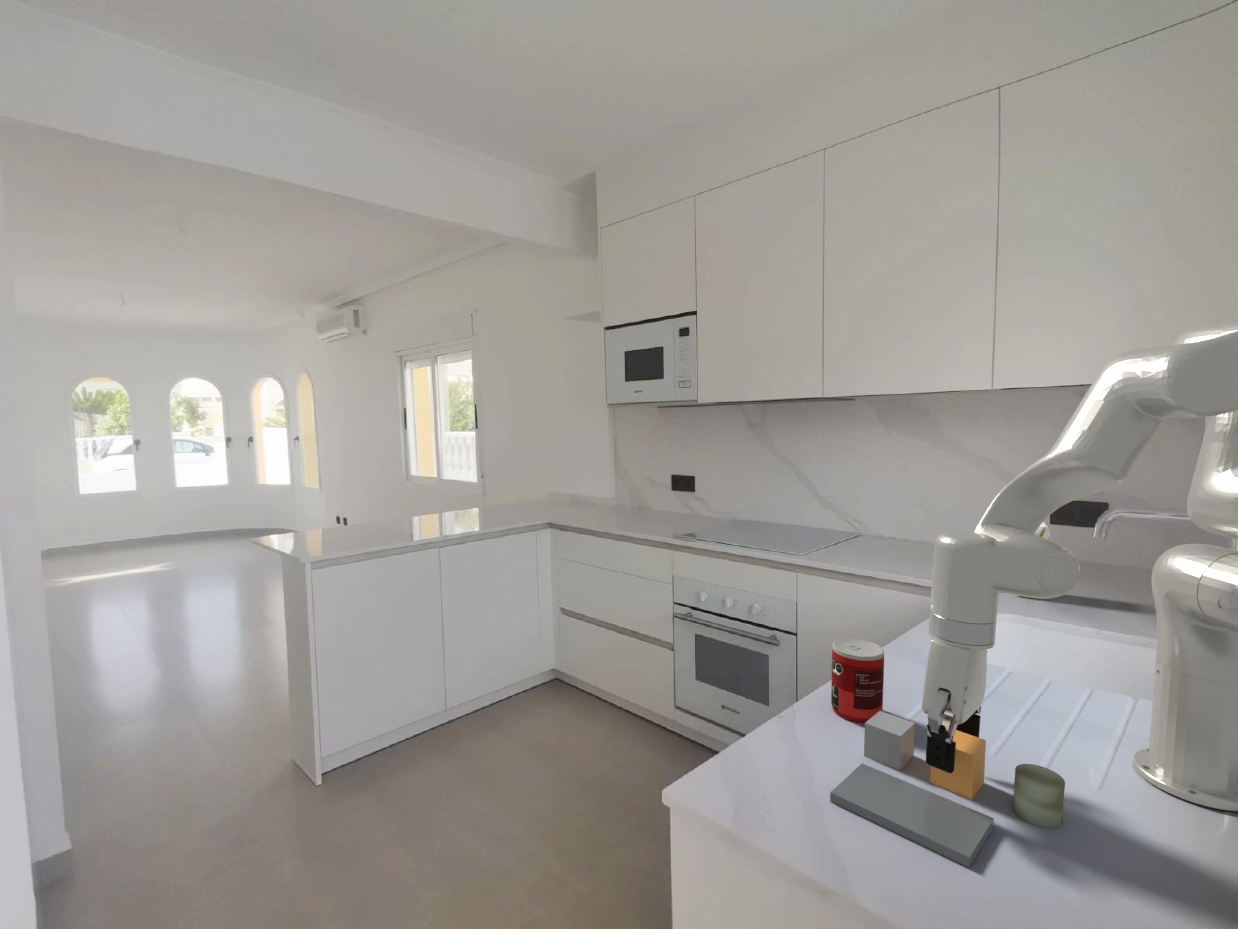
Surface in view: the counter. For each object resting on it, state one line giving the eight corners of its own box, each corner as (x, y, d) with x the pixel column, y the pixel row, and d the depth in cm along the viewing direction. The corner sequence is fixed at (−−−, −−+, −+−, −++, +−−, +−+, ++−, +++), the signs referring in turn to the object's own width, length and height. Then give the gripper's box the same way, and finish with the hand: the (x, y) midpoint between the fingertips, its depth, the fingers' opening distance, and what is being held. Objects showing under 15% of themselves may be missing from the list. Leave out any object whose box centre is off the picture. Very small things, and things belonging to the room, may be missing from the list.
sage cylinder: (1018, 796, 79) (1020, 759, 78) (1065, 814, 75) (1068, 775, 75) (1008, 814, 75) (1010, 776, 75) (1057, 834, 72) (1060, 794, 71)
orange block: (943, 767, 85) (945, 726, 85) (983, 783, 82) (985, 740, 81) (930, 783, 82) (931, 740, 81) (971, 800, 78) (973, 755, 78)
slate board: (861, 771, 84) (861, 763, 84) (993, 827, 73) (993, 818, 73) (830, 801, 78) (830, 792, 78) (968, 868, 67) (969, 857, 67)
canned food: (840, 696, 106) (841, 634, 105) (888, 710, 101) (890, 645, 100) (823, 713, 100) (824, 648, 99) (874, 729, 95) (876, 660, 94)
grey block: (878, 743, 92) (879, 710, 91) (913, 756, 88) (914, 723, 88) (863, 756, 88) (864, 723, 88) (899, 771, 85) (900, 736, 84)
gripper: (953, 606, 88) (945, 720, 90) (905, 636, 76) (897, 767, 78) (1013, 620, 83) (1003, 741, 85) (972, 654, 71) (961, 794, 73)
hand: (952, 753), depth 81 cm, fingers open, 9 cm apart
